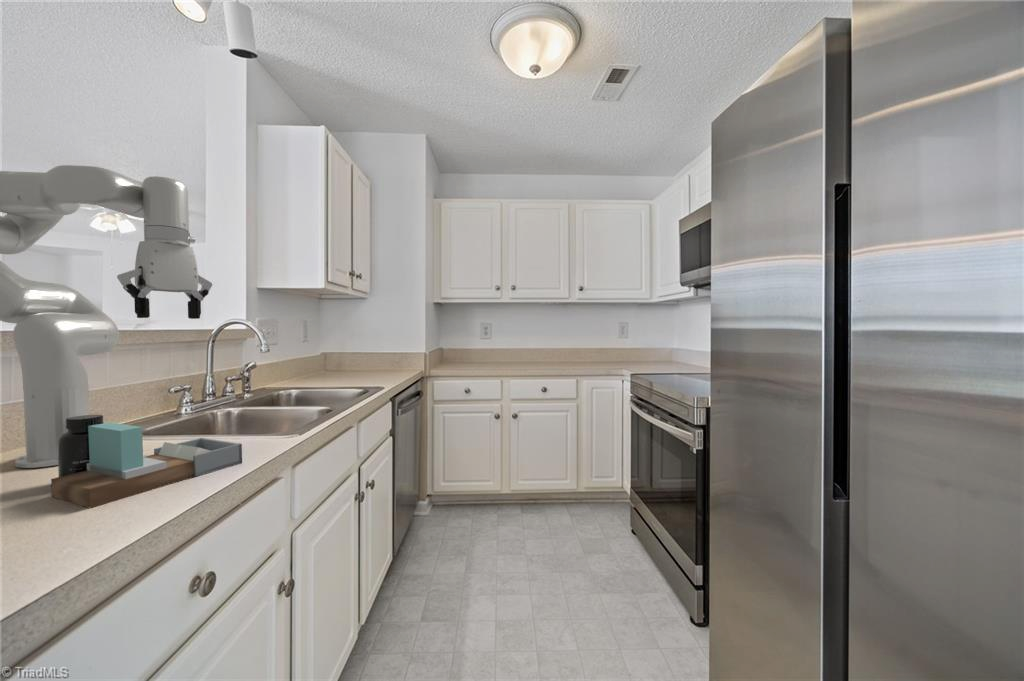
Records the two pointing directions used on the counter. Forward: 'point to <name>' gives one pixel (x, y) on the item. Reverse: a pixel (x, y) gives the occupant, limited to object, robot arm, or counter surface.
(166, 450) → the tile
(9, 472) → the counter surface
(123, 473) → the teal cube on plate
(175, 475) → the board
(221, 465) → the tray
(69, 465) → the supplement bottle
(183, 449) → the tile
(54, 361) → the robot arm
